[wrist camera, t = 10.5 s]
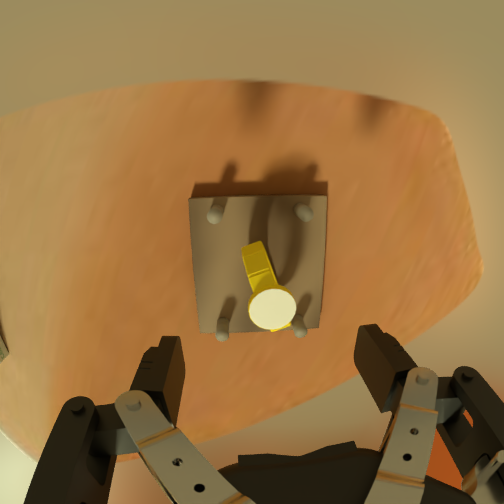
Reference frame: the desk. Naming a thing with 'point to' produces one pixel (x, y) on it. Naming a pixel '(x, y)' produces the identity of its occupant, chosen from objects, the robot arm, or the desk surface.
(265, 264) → the watch
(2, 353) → the ink box
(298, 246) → the pin plate
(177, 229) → the desk surface
